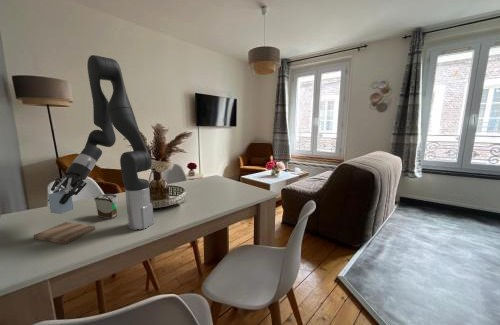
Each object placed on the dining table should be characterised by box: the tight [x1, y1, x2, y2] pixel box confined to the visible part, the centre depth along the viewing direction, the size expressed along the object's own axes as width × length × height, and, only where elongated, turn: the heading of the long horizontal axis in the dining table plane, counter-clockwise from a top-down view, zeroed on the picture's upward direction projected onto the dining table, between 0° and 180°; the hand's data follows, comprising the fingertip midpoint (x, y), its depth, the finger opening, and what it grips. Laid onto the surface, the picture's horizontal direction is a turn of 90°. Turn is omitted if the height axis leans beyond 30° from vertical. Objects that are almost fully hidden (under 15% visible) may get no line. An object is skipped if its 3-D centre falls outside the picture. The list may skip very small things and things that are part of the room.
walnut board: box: [33, 221, 96, 245], centre depth 90 cm, size 16×12×2 cm
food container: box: [93, 193, 119, 220], centre depth 108 cm, size 12×6×10 cm, turn 71°
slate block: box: [47, 190, 74, 215], centre depth 87 cm, size 5×5×8 cm
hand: (56, 202), depth 86 cm, fingers closed on slate block, 5 cm apart
